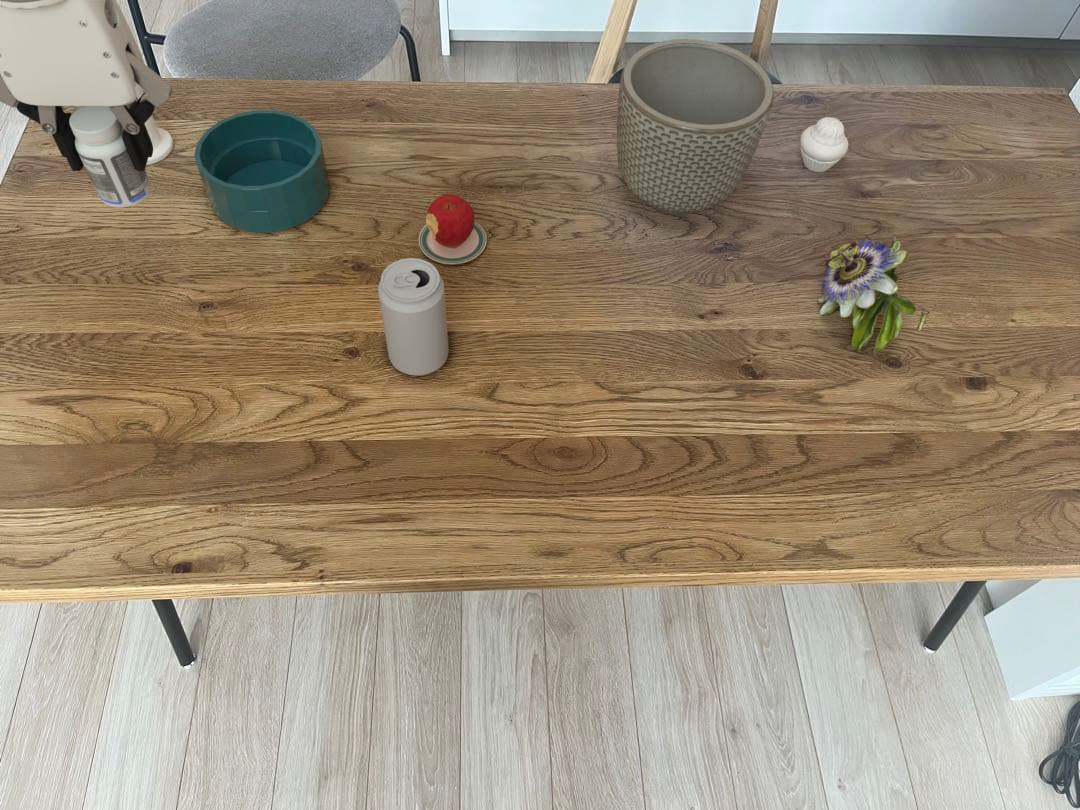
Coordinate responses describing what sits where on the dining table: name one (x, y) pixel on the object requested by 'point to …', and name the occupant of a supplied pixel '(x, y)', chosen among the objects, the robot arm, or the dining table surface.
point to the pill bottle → (107, 157)
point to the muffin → (823, 144)
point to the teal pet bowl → (263, 170)
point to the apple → (451, 231)
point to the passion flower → (867, 290)
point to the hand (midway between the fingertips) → (111, 159)
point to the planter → (689, 122)
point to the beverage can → (414, 316)
